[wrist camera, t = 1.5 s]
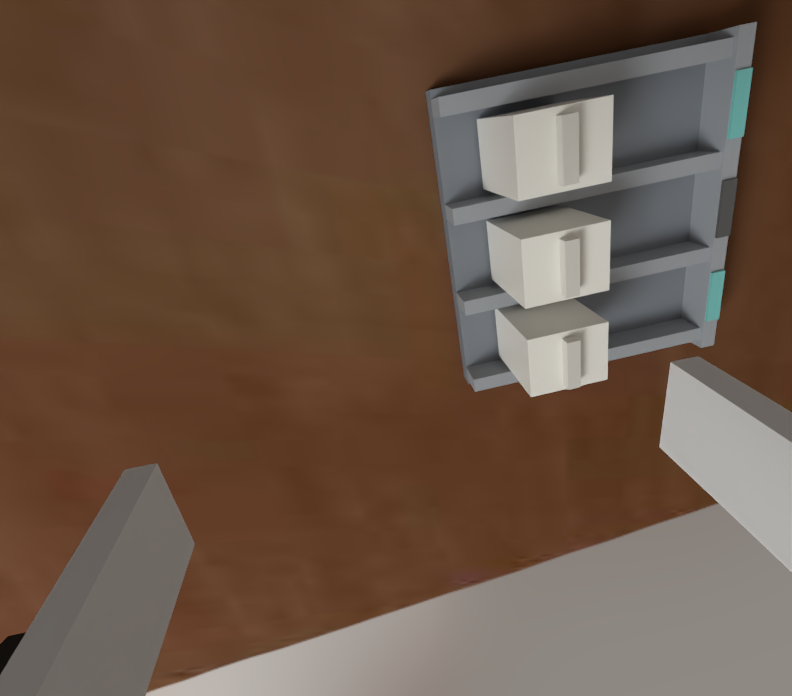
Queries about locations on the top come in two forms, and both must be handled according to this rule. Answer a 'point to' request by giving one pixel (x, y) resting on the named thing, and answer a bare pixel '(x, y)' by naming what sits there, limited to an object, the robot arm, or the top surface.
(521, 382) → the white block with handle
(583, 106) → the white rectangular block
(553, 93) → the switch board
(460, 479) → the top surface
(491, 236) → the white ridged block
